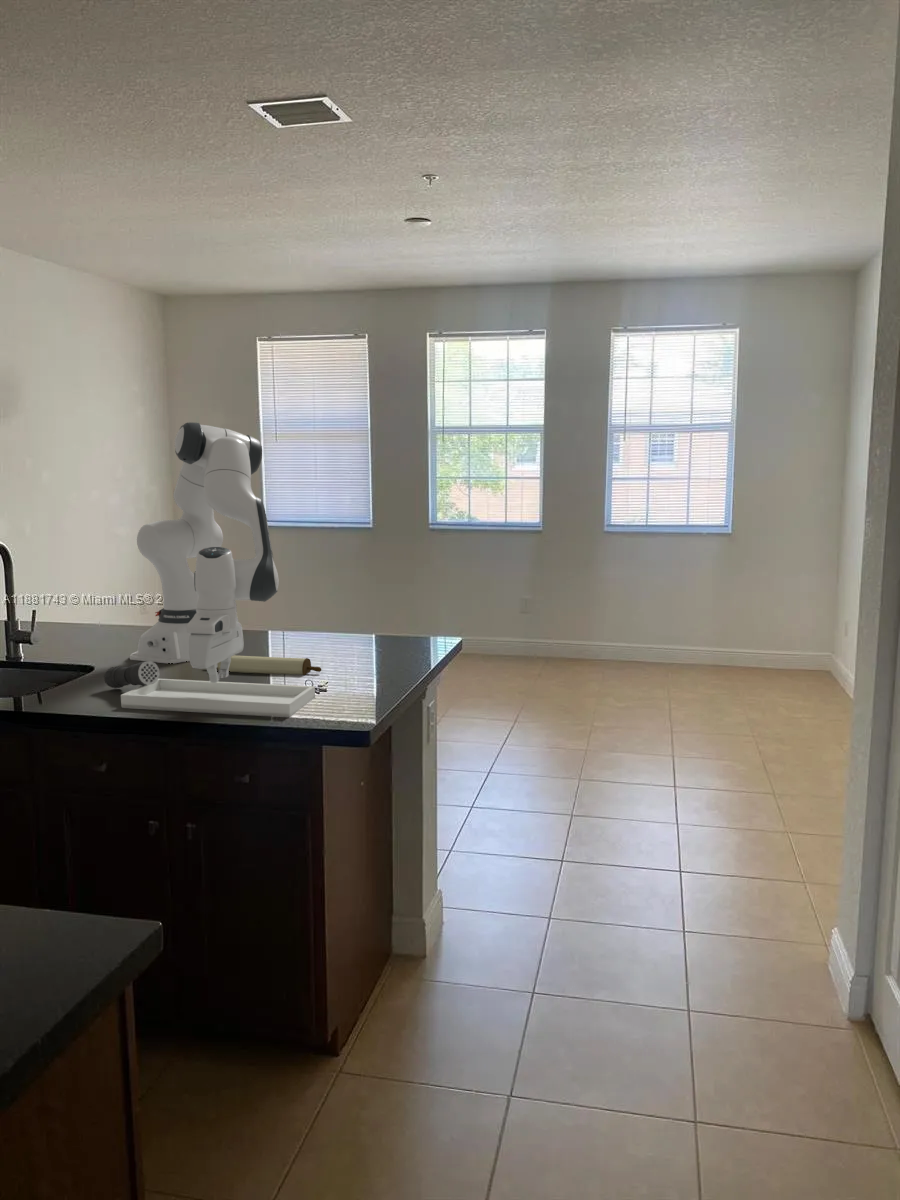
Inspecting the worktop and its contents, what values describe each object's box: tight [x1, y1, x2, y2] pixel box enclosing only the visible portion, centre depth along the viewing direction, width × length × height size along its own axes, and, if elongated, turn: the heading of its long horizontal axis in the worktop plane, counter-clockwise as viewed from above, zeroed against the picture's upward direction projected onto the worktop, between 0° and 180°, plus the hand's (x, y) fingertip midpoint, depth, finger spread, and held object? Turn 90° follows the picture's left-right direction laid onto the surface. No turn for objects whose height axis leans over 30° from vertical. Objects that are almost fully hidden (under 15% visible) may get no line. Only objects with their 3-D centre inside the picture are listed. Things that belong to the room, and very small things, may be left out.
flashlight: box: [103, 661, 160, 689], centre depth 208 cm, size 15×5×5 cm
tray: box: [120, 678, 316, 718], centre depth 200 cm, size 40×16×3 cm, turn 79°
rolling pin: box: [216, 654, 322, 676], centre depth 229 cm, size 32×6×5 cm, turn 79°
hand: (219, 679), depth 199 cm, fingers open, 3 cm apart
